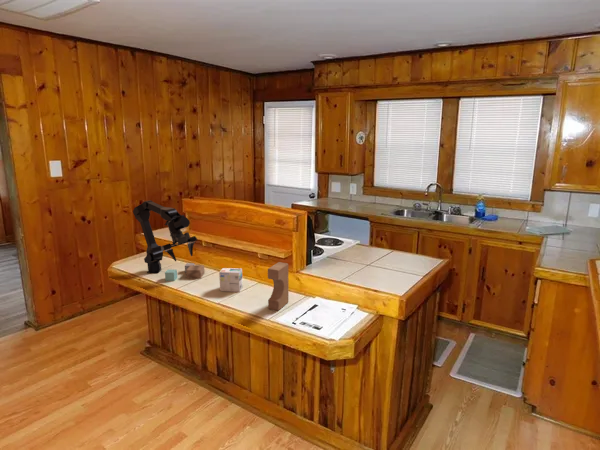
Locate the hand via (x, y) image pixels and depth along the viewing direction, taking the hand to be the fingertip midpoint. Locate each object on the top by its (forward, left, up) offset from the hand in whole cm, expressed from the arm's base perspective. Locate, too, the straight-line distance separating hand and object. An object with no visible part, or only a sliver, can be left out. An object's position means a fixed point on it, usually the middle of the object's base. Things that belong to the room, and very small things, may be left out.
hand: (184, 258), depth 218 cm
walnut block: (+3, +8, -13) cm, 16 cm away
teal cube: (-9, +2, -13) cm, 16 cm away
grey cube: (-2, +15, -13) cm, 20 cm away
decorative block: (+53, -30, -13) cm, 62 cm away
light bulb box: (+27, -11, -13) cm, 32 cm away
